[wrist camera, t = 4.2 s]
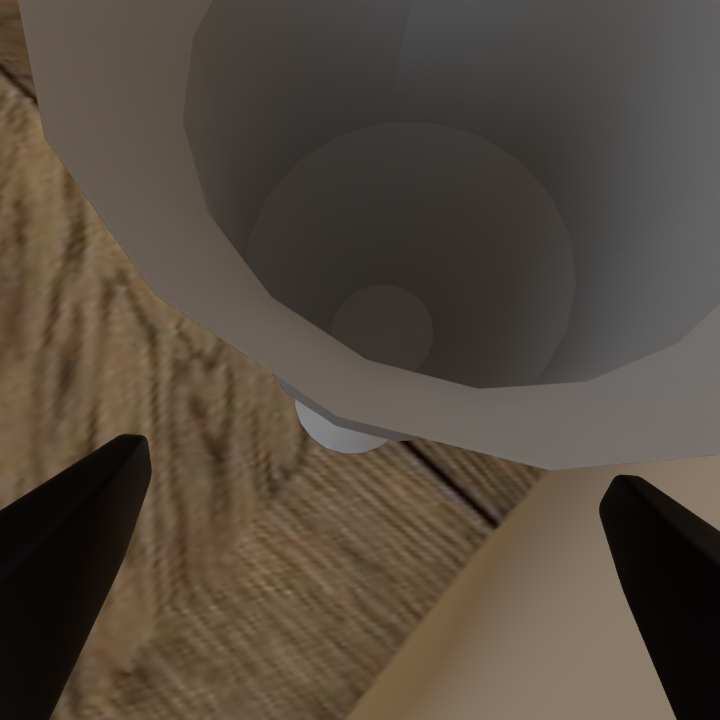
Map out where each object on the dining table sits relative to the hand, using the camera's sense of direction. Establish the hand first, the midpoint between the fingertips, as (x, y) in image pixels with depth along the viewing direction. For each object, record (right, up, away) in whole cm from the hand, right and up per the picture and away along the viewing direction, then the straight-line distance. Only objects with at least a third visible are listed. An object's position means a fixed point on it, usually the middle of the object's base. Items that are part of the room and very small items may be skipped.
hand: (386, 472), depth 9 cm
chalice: (-1, 0, +12) cm, 12 cm away
